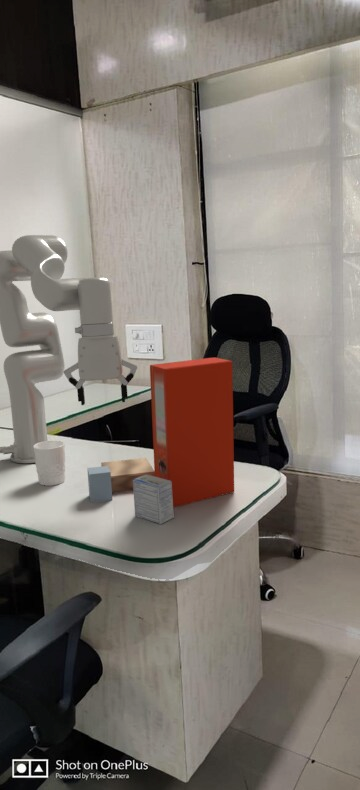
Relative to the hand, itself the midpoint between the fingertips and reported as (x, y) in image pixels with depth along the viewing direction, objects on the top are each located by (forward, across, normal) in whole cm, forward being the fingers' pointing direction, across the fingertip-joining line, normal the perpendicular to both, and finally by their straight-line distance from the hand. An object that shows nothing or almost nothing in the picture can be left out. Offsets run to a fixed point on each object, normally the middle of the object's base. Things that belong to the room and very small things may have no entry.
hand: (103, 402), depth 146 cm
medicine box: (+23, +10, -18) cm, 31 cm away
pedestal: (+22, +4, +7) cm, 24 cm away
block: (+22, -2, -3) cm, 23 cm away
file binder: (+23, +20, -6) cm, 31 cm away
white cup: (+22, -15, +11) cm, 29 cm away
